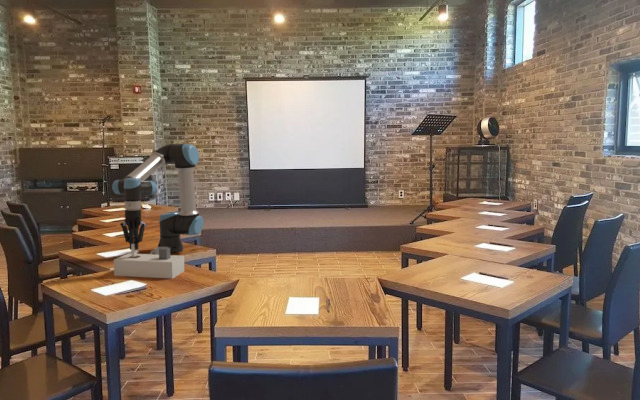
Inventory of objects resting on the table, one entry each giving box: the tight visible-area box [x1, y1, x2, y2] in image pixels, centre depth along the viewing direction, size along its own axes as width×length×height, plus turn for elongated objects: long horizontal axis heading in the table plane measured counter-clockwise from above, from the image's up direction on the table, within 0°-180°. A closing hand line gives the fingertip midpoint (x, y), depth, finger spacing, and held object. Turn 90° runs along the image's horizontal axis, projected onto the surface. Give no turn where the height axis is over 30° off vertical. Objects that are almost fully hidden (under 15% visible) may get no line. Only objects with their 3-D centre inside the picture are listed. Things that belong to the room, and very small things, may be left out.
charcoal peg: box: [159, 248, 171, 260], centre depth 236 cm, size 4×4×7 cm
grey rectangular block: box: [113, 252, 185, 279], centre depth 237 cm, size 14×30×8 cm, turn 82°
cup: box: [149, 246, 168, 255], centre depth 256 cm, size 7×10×9 cm
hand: (134, 256), depth 238 cm, fingers closed
